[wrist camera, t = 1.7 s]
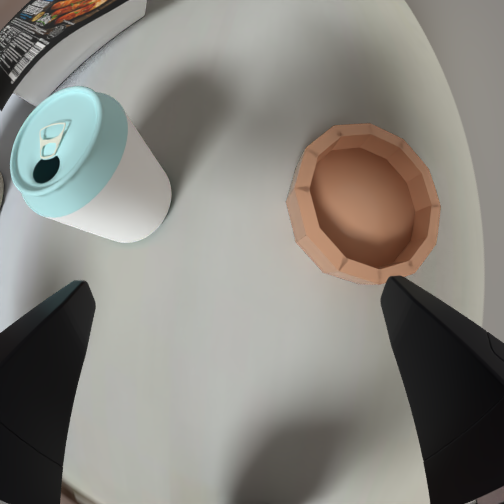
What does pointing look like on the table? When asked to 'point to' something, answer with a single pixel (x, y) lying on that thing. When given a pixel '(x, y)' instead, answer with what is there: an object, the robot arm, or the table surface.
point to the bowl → (363, 205)
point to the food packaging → (57, 42)
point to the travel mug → (1, 188)
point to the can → (89, 167)
